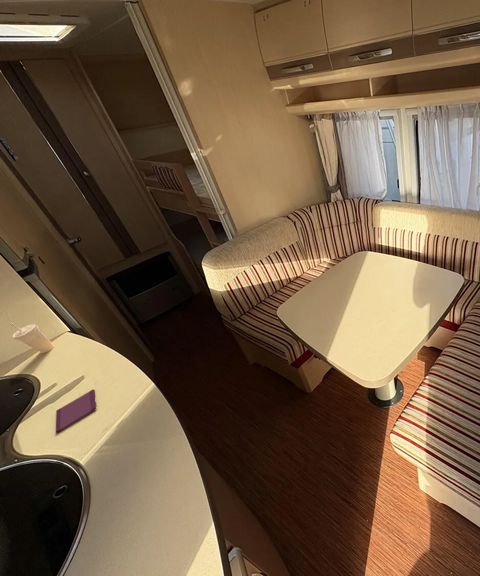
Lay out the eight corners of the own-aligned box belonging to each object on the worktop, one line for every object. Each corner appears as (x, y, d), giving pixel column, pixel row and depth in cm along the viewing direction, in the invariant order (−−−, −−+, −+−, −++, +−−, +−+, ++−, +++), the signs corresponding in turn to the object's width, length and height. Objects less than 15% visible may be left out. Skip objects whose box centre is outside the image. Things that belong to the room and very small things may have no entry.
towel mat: (57, 433, 81) (55, 432, 80) (58, 411, 87) (56, 410, 86) (96, 409, 85) (95, 408, 84) (94, 390, 91) (93, 389, 90)
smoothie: (33, 354, 109) (-4, 327, 101) (52, 340, 114) (19, 313, 105) (42, 357, 107) (5, 330, 98) (62, 343, 112) (28, 316, 103)
